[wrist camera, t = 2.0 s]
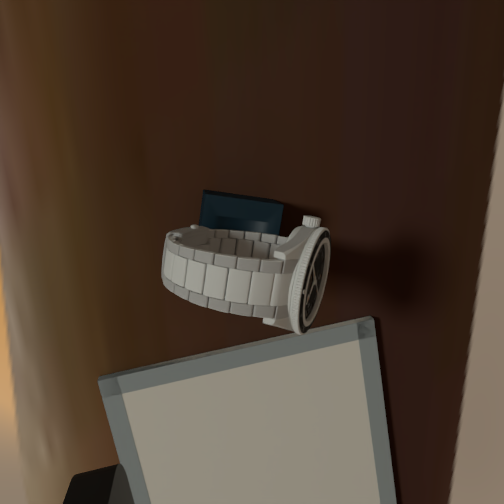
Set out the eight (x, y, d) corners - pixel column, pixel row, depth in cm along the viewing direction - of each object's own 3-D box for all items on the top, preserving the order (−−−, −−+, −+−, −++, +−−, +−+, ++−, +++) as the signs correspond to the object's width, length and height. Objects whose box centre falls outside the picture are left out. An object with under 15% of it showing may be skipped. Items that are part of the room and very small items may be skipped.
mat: (99, 376, 29) (97, 381, 29) (370, 315, 31) (373, 319, 31) (161, 600, 34) (161, 609, 33) (397, 536, 35) (401, 542, 35)
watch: (289, 288, 30) (346, 363, 19) (163, 274, 29) (150, 346, 18) (304, 202, 29) (373, 231, 18) (173, 183, 28) (166, 202, 17)
